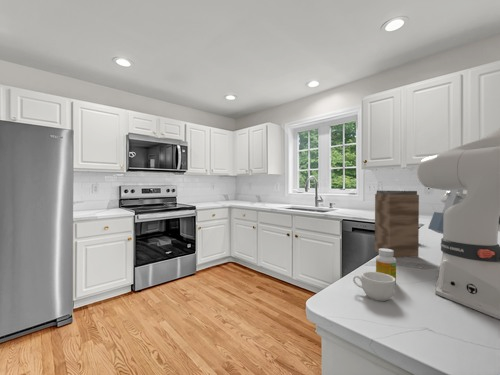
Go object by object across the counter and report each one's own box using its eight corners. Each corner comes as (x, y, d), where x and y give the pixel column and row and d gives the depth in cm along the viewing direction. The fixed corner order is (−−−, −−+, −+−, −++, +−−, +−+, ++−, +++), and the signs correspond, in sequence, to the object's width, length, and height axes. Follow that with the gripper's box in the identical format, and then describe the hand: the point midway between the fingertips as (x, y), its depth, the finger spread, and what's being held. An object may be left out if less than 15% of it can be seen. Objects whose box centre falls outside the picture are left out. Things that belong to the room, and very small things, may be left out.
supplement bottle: (393, 286, 71) (393, 253, 71) (373, 281, 75) (373, 249, 75) (398, 281, 75) (398, 249, 75) (379, 277, 79) (379, 246, 79)
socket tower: (419, 256, 104) (420, 191, 104) (389, 257, 102) (390, 190, 102) (402, 250, 114) (402, 190, 114) (374, 251, 112) (375, 190, 112)
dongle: (465, 188, 109) (454, 183, 109) (447, 234, 108) (437, 230, 108) (455, 188, 114) (445, 183, 113) (438, 232, 113) (428, 228, 112)
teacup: (397, 296, 65) (397, 275, 65) (393, 307, 59) (393, 284, 59) (356, 286, 71) (356, 268, 71) (349, 296, 65) (349, 275, 65)
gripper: (457, 201, 123) (435, 187, 122) (504, 203, 103) (478, 187, 101) (451, 212, 123) (429, 198, 121) (497, 217, 102) (471, 200, 101)
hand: (452, 193), depth 111 cm, fingers closed on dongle, 4 cm apart
